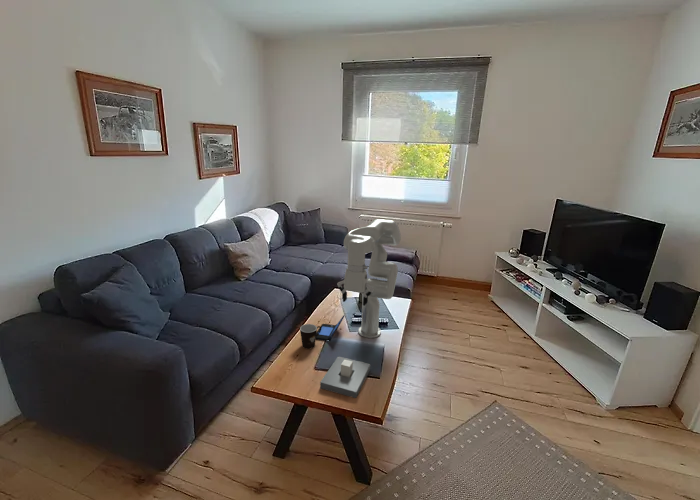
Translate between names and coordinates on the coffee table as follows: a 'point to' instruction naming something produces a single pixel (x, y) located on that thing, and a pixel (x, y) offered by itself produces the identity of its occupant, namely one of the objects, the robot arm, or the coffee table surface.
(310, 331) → the coffee mug
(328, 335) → the handheld game console
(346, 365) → the plug
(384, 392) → the coffee table surface
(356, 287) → the robot arm
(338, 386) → the socket plate
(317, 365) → the coffee table surface
